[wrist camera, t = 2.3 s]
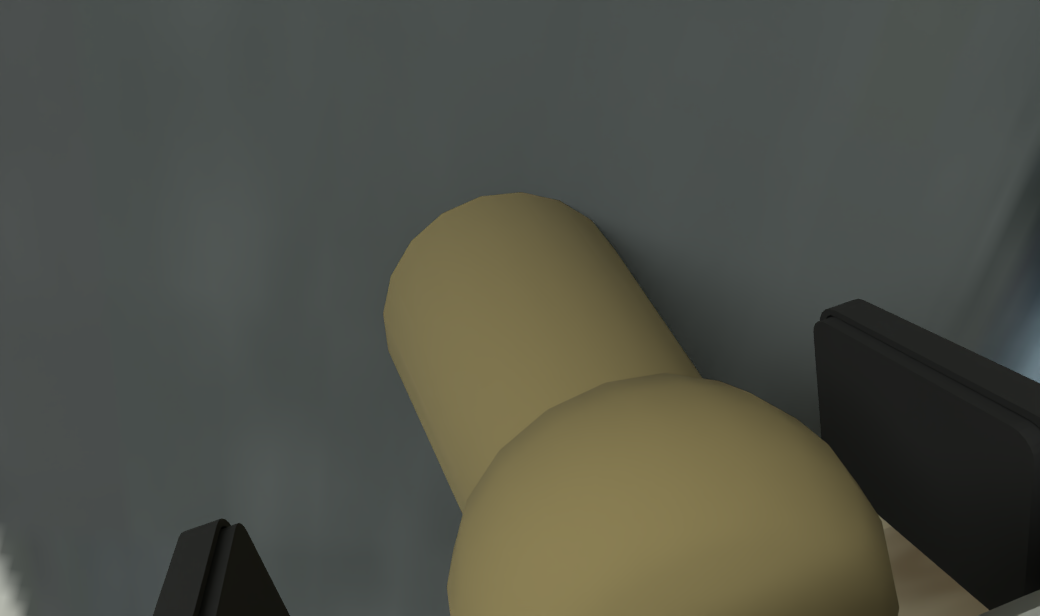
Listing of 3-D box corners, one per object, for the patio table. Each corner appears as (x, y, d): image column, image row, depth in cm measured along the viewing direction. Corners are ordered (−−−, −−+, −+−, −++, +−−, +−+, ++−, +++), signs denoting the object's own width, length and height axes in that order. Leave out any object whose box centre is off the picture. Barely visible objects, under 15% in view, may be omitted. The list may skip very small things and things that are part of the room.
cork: (567, 448, 19) (815, 924, 8) (347, 389, 17) (332, 919, 7) (666, 244, 17) (1109, 528, 7) (438, 152, 15) (601, 365, 5)
